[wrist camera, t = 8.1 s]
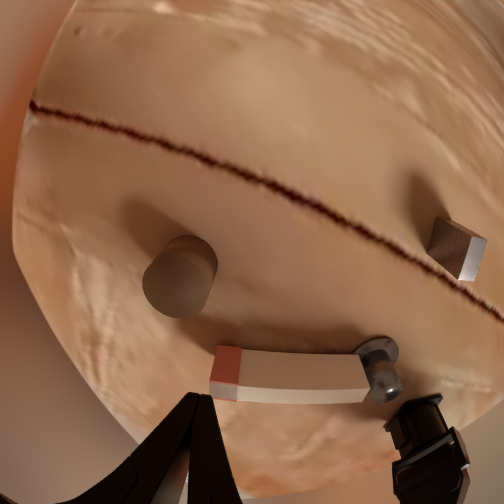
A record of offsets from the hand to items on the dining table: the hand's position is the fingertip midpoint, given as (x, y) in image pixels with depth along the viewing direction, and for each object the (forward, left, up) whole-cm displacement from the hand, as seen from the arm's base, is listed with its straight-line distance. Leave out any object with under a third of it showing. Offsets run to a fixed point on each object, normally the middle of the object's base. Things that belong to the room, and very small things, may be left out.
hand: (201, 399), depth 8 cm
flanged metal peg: (-13, +8, -11) cm, 19 cm away
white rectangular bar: (-5, +8, -11) cm, 15 cm away
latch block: (-16, -4, -11) cm, 20 cm away
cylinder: (+3, 0, -12) cm, 12 cm away
